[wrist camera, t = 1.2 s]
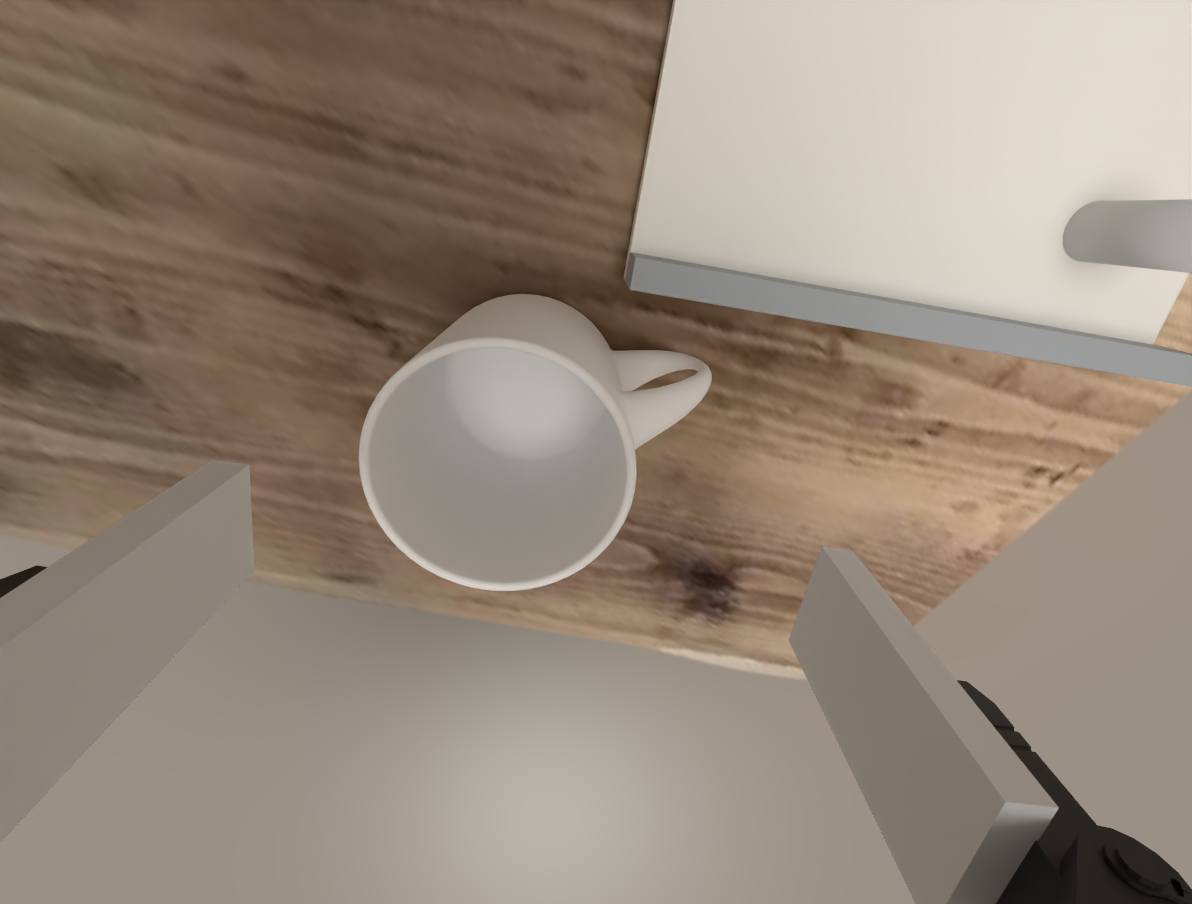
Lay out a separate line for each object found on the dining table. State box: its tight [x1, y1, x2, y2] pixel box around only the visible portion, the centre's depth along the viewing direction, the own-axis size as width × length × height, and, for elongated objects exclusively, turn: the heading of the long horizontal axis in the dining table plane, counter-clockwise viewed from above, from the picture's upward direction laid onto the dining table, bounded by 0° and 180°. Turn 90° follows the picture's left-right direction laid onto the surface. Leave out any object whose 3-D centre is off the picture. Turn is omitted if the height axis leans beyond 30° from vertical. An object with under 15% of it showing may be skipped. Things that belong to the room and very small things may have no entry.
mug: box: [359, 294, 712, 591], centre depth 23 cm, size 9×12×11 cm
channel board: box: [623, 0, 1192, 387], centre depth 20 cm, size 20×24×7 cm
